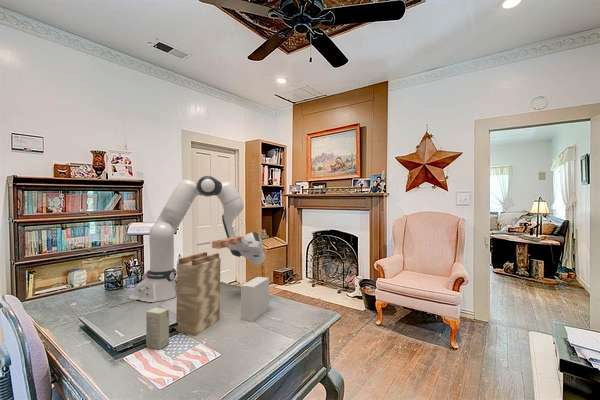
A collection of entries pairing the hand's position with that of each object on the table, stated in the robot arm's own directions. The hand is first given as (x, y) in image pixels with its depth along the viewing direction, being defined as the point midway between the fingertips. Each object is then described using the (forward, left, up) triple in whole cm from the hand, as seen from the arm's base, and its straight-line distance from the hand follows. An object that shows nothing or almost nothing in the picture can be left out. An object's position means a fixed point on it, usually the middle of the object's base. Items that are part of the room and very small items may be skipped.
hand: (236, 239), depth 139 cm
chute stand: (-5, -26, -31) cm, 41 cm away
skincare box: (-11, -43, -32) cm, 55 cm away
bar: (-1, -6, -2) cm, 7 cm away
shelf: (+14, -11, -31) cm, 36 cm away
